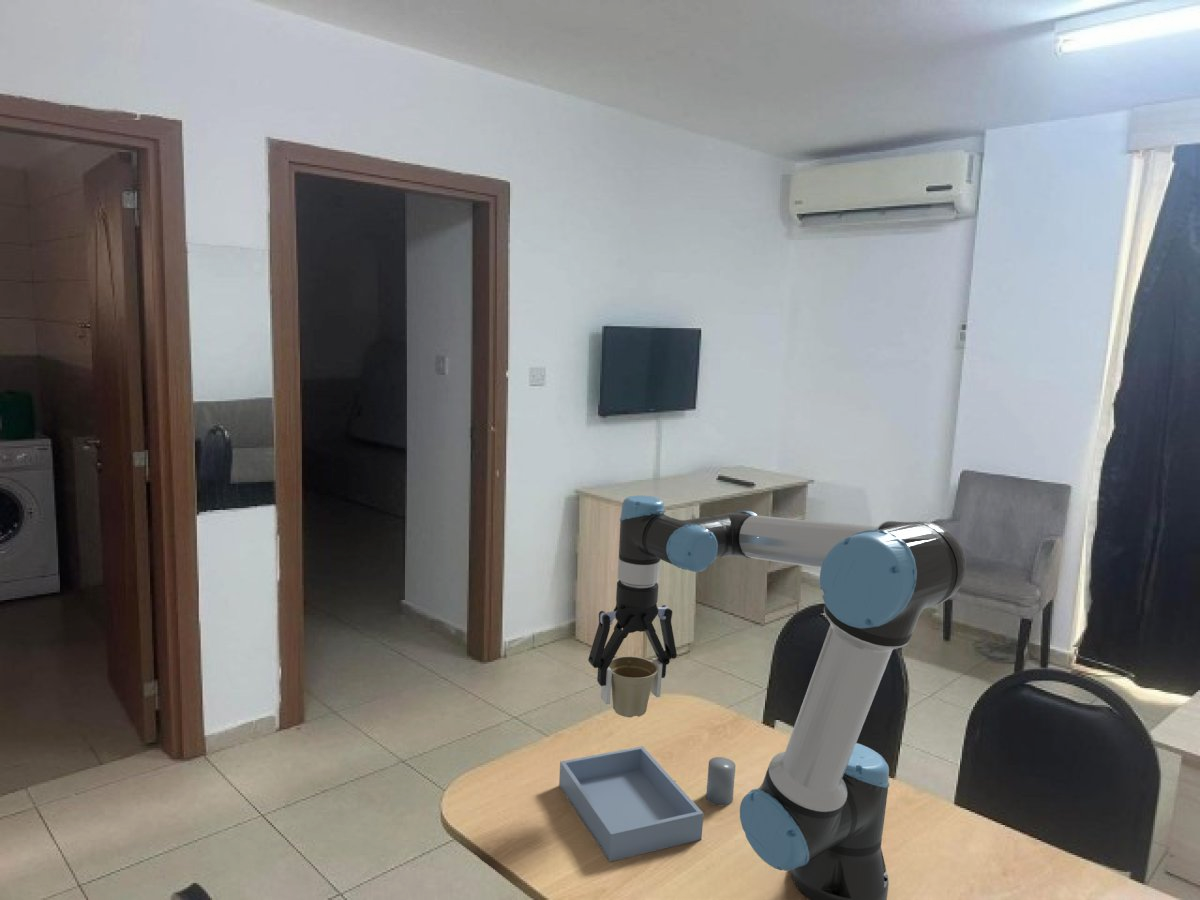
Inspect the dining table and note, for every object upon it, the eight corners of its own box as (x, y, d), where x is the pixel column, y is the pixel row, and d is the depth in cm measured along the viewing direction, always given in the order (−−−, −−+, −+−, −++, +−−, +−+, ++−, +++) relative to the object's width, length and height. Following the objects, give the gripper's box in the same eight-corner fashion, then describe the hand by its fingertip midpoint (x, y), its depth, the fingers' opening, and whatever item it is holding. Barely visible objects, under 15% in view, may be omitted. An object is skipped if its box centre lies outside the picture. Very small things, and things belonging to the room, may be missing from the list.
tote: (701, 839, 144) (703, 813, 143) (609, 861, 137) (611, 834, 136) (641, 769, 165) (642, 746, 164) (559, 785, 158) (560, 761, 157)
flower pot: (655, 724, 148) (658, 679, 147) (602, 720, 149) (605, 675, 147) (654, 700, 158) (657, 658, 156) (605, 696, 158) (608, 654, 157)
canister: (737, 802, 155) (740, 768, 154) (714, 808, 153) (717, 773, 152) (723, 788, 160) (726, 755, 159) (701, 793, 158) (703, 759, 157)
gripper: (682, 570, 156) (674, 681, 160) (573, 579, 148) (567, 695, 152) (701, 583, 150) (693, 699, 153) (588, 593, 141) (581, 714, 145)
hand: (630, 697), depth 153 cm, fingers closed on flower pot, 9 cm apart
